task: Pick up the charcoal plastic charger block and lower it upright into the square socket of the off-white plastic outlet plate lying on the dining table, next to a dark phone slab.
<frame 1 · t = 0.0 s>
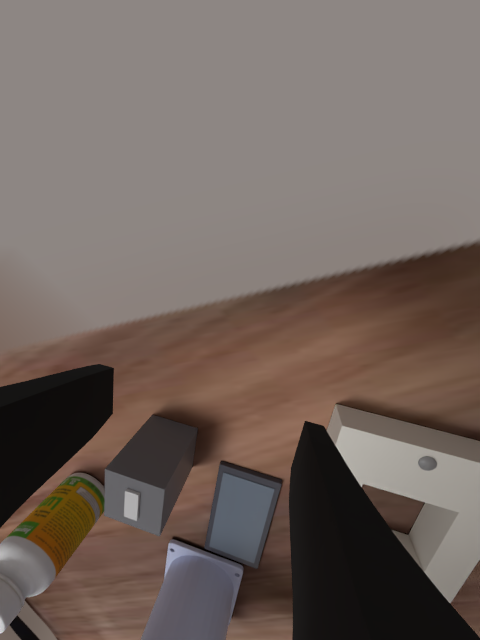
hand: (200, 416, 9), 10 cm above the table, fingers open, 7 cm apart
charger block: (172, 440, 23), on the table
outlet plate: (381, 496, 20), on the table
supplement bottle: (89, 489, 27), on the table
phone slab: (241, 508, 24), on the table
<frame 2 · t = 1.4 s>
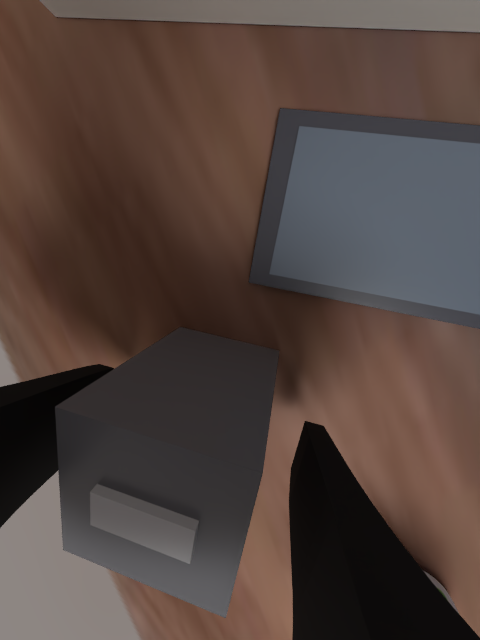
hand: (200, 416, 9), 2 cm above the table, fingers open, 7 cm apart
charger block: (220, 383, 11), on the table
phone slab: (420, 232, 9), on the table
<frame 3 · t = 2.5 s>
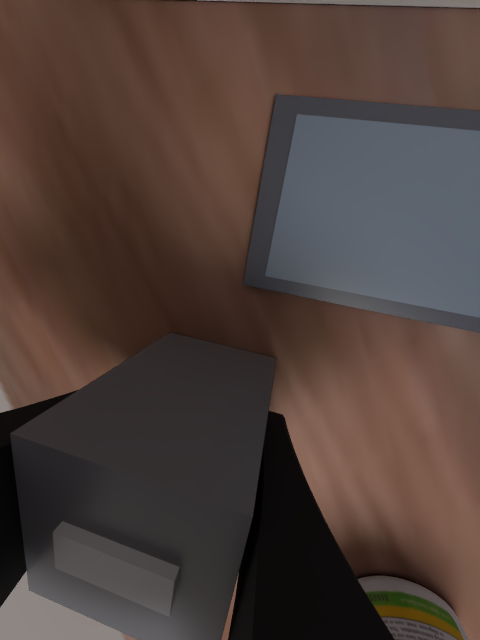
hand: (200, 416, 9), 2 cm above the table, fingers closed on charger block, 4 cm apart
charger block: (213, 392, 10), on the table, touching gripper
supplement bottle: (388, 607, 12), on the table
phone slab: (428, 230, 8), on the table
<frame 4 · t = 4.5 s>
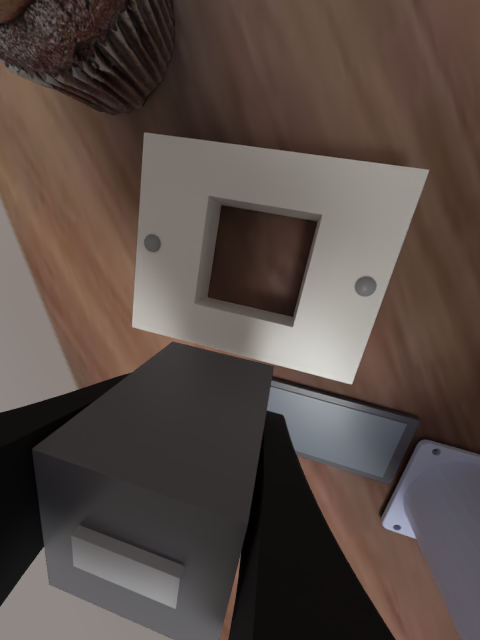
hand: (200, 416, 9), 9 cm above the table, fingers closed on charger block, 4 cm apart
cupcake: (116, 39, 15), on the table
charger block: (214, 398, 11), point 7 cm above the table, touching gripper
outlet plate: (258, 262, 16), on the table
phone slab: (321, 421, 18), on the table
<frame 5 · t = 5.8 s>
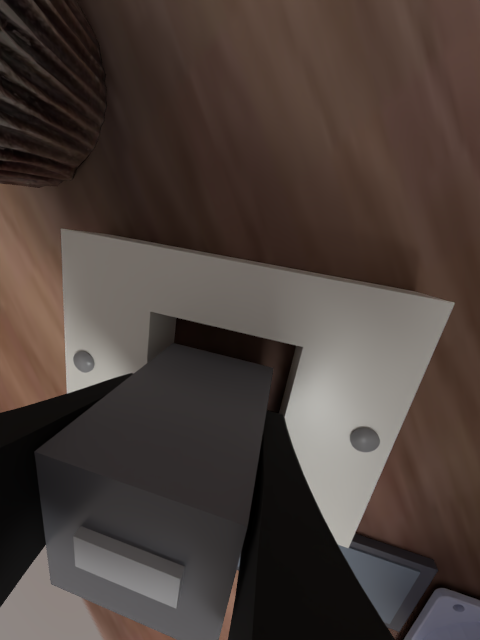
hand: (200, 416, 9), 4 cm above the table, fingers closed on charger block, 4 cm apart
cupcake: (35, 94, 11), on the table
charger block: (214, 399, 11), point 2 cm above the table, touching gripper
outlet plate: (227, 369, 12), on the table
phone slab: (313, 545, 15), on the table
when the fingers open (3 cm above the table, at t = 6.8 s): charger block drops 1 cm, resting in outlet plate.
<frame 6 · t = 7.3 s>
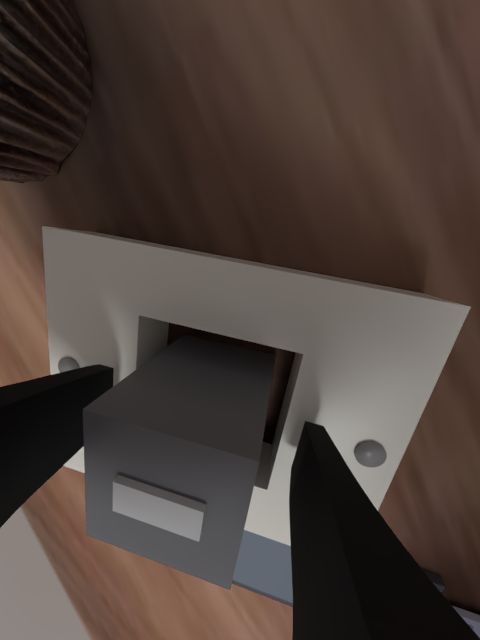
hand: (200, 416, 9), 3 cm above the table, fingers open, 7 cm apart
cupcake: (17, 82, 10), on the table
charger block: (222, 385, 12), resting in outlet plate
outlet plate: (223, 376, 12), on the table
phone slab: (313, 559, 14), on the table
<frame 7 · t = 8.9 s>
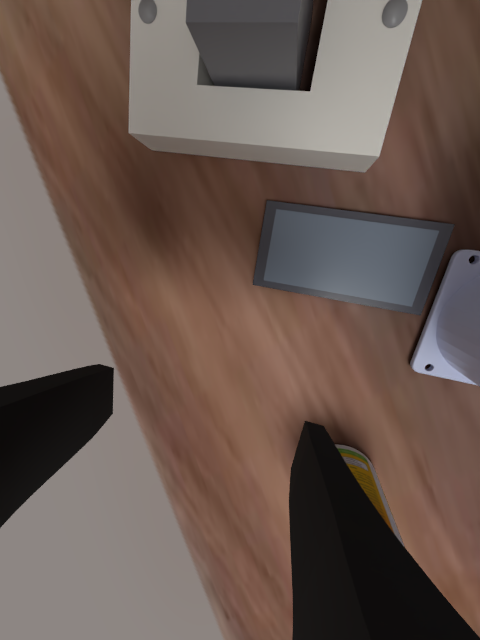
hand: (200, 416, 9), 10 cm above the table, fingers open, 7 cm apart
charger block: (265, 66, 14), resting in outlet plate
outlet plate: (266, 53, 14), on the table
supplement bottle: (337, 467, 20), on the table
phone slab: (340, 257, 17), on the table
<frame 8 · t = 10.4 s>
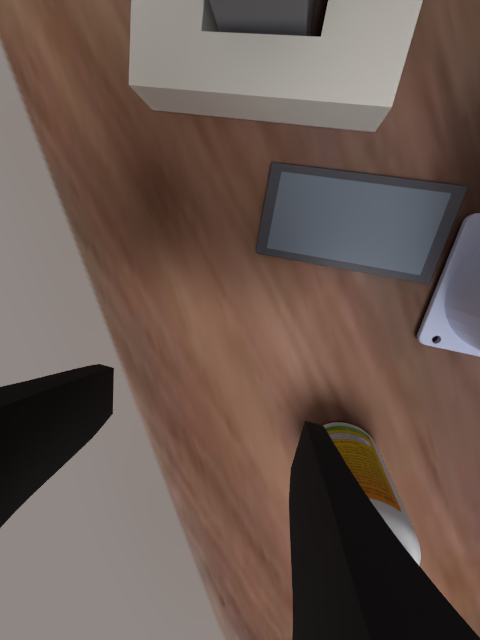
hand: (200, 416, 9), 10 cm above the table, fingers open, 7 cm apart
charger block: (273, 17, 14), resting in outlet plate
outlet plate: (274, 3, 14), on the table
supplement bottle: (339, 447, 20), on the table
phone slab: (346, 225, 16), on the table
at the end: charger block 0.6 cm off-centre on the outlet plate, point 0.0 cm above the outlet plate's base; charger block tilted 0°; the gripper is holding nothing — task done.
